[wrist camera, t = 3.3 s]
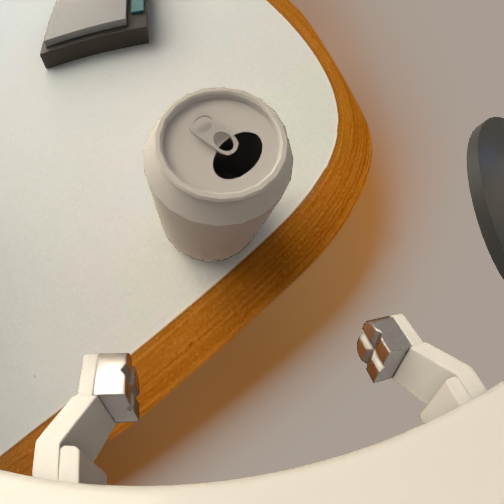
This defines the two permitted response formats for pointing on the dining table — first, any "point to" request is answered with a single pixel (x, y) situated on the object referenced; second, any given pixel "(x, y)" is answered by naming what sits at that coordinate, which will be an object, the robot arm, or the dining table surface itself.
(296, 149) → the dining table surface
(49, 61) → the scale
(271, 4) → the dining table surface
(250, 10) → the dining table surface
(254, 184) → the can
